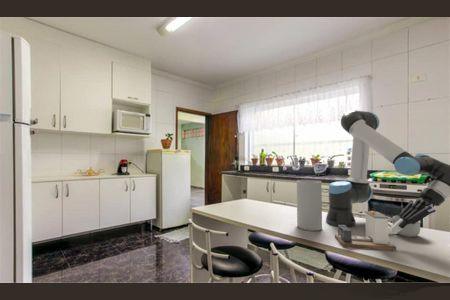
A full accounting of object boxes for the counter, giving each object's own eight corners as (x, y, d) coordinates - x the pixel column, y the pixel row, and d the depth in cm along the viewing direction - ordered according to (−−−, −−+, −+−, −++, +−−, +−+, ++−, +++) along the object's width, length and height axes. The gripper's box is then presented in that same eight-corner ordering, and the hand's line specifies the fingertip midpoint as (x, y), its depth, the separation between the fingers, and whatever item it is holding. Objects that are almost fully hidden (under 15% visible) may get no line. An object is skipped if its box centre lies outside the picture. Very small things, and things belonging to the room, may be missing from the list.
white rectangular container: (365, 236, 103) (364, 209, 103) (378, 236, 102) (377, 209, 102) (375, 243, 94) (374, 214, 94) (389, 244, 93) (388, 214, 93)
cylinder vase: (300, 222, 129) (299, 179, 130) (323, 226, 123) (322, 180, 124) (294, 228, 119) (294, 181, 119) (320, 232, 112) (319, 182, 113)
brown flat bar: (338, 237, 102) (338, 235, 102) (385, 240, 98) (384, 237, 98) (340, 239, 99) (340, 237, 99) (388, 242, 95) (388, 240, 96)
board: (334, 237, 106) (334, 233, 106) (381, 239, 103) (381, 236, 103) (343, 247, 94) (343, 243, 95) (396, 250, 91) (396, 246, 91)
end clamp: (338, 235, 104) (337, 224, 104) (345, 235, 104) (344, 225, 104) (344, 241, 96) (343, 230, 96) (351, 242, 96) (351, 230, 96)
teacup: (421, 234, 109) (420, 218, 110) (420, 240, 101) (420, 223, 102) (386, 228, 119) (386, 213, 119) (383, 233, 111) (383, 217, 111)
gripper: (456, 203, 87) (409, 243, 90) (431, 197, 100) (391, 232, 102) (440, 189, 88) (394, 229, 91) (417, 185, 101) (377, 220, 103)
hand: (392, 231), depth 96 cm, fingers closed
